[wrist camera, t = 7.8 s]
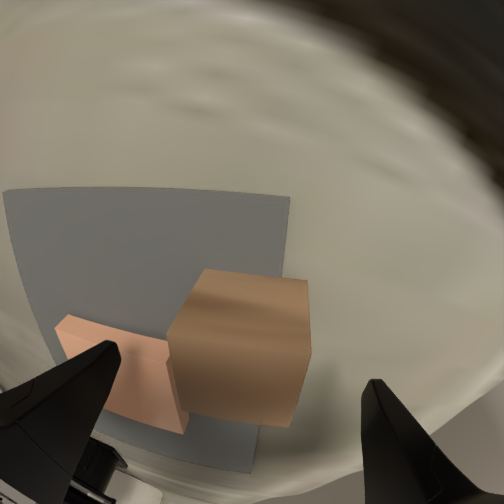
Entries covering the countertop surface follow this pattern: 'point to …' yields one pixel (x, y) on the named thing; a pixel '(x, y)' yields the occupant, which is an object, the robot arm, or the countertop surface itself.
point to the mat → (143, 279)
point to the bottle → (130, 490)
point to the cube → (242, 347)
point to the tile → (132, 373)
